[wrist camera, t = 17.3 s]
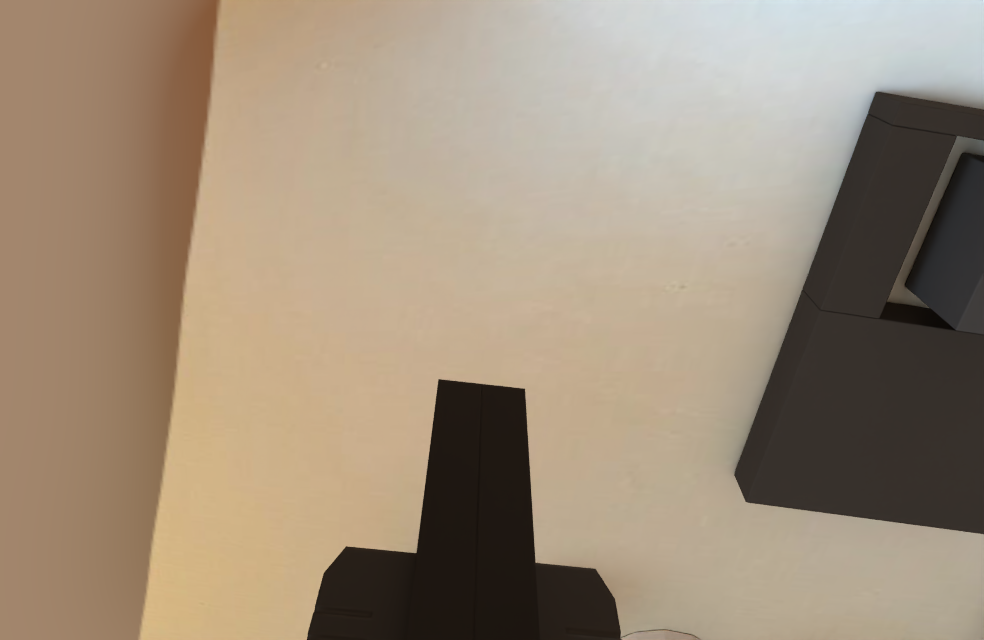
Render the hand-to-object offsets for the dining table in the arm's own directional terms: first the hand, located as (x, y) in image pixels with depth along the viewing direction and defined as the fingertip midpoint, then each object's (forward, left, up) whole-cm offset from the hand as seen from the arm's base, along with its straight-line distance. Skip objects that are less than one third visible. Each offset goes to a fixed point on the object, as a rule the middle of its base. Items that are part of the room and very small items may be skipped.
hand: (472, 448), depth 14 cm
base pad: (+6, +25, -25) cm, 36 cm away
